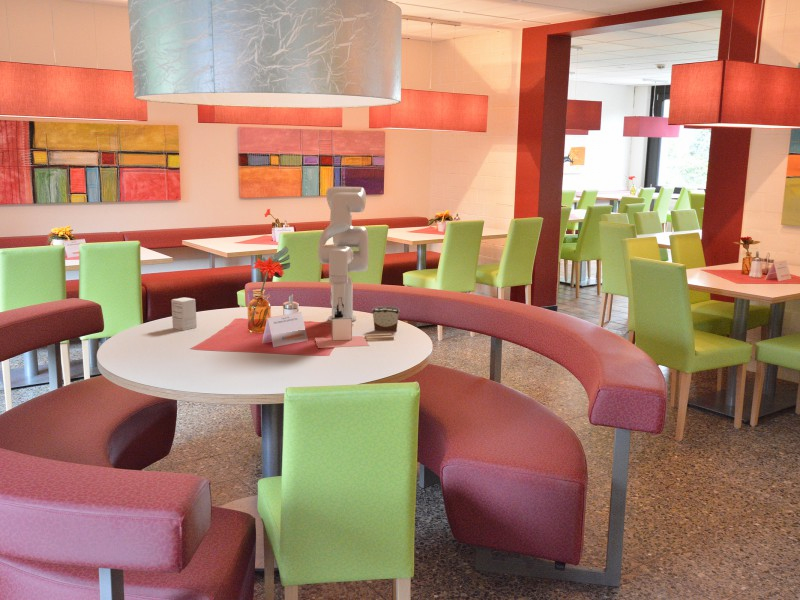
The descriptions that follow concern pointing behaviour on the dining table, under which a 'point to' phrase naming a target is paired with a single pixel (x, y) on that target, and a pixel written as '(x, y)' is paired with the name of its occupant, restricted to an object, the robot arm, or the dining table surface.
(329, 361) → the dining table surface
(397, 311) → the half round cake
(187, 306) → the supplement box
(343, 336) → the grey square slab
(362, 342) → the mat
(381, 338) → the stand
